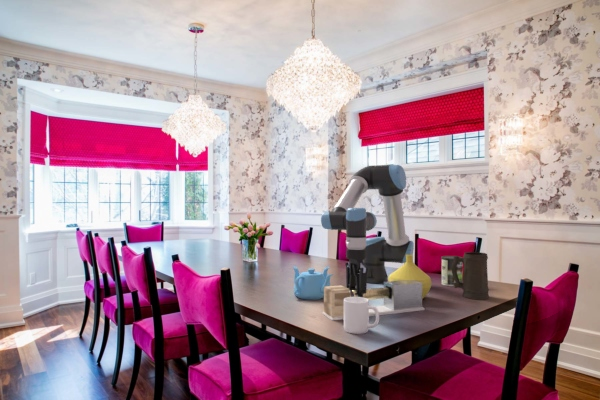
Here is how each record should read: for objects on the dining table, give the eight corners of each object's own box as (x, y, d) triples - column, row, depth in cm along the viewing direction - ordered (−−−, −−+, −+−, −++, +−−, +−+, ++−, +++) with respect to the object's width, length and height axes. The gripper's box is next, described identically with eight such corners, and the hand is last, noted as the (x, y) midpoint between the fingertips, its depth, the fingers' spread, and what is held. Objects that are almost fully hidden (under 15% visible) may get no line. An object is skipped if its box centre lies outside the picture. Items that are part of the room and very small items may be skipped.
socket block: (323, 314, 150) (323, 286, 150) (341, 312, 153) (341, 285, 153) (331, 319, 144) (331, 290, 143) (349, 317, 146) (349, 289, 146)
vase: (408, 306, 162) (408, 259, 162) (379, 296, 178) (379, 253, 178) (440, 300, 171) (440, 256, 171) (410, 291, 187) (410, 251, 187)
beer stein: (489, 295, 181) (485, 251, 181) (492, 300, 171) (488, 254, 171) (453, 294, 186) (450, 252, 186) (454, 300, 176) (450, 254, 176)
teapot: (328, 291, 188) (328, 265, 188) (333, 301, 170) (333, 272, 170) (292, 291, 188) (292, 265, 188) (293, 301, 169) (293, 272, 169)
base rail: (322, 313, 151) (322, 311, 151) (410, 304, 165) (410, 302, 165) (331, 320, 142) (331, 318, 142) (424, 310, 156) (424, 307, 156)
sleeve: (383, 307, 159) (383, 281, 159) (411, 305, 164) (411, 279, 164) (393, 312, 153) (393, 285, 152) (422, 309, 157) (422, 282, 157)
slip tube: (383, 296, 157) (383, 286, 157) (389, 299, 154) (389, 288, 154) (338, 300, 151) (338, 290, 151) (343, 303, 147) (343, 292, 147)
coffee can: (466, 284, 203) (466, 257, 203) (456, 287, 196) (456, 259, 196) (447, 281, 211) (447, 255, 211) (437, 284, 204) (437, 256, 204)
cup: (349, 324, 138) (349, 295, 138) (382, 330, 132) (382, 299, 132) (339, 331, 131) (339, 300, 131) (375, 337, 125) (375, 305, 125)
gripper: (337, 246, 157) (337, 304, 158) (358, 251, 141) (358, 316, 142) (354, 245, 160) (354, 303, 160) (376, 250, 144) (376, 314, 144)
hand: (356, 309), depth 151 cm, fingers closed on slip tube, 4 cm apart
